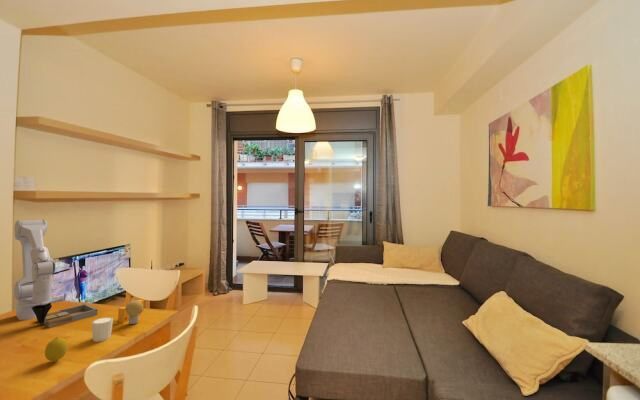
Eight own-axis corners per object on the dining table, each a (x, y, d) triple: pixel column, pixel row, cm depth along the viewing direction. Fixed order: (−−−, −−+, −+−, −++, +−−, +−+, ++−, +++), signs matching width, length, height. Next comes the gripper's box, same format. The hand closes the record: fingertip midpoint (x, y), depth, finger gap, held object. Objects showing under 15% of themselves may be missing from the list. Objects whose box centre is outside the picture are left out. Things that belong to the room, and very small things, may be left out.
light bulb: (143, 319, 130) (144, 297, 130) (139, 325, 124) (140, 302, 124) (127, 321, 128) (128, 298, 128) (122, 327, 122) (123, 303, 122)
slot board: (37, 322, 123) (37, 316, 123) (84, 310, 138) (84, 304, 138) (49, 330, 117) (49, 322, 117) (97, 316, 132) (97, 310, 132)
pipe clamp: (135, 312, 139) (136, 299, 139) (143, 313, 138) (144, 299, 138) (114, 322, 127) (115, 307, 127) (123, 323, 126) (123, 308, 126)
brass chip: (43, 322, 121) (43, 317, 122) (53, 320, 125) (54, 314, 125) (47, 325, 120) (47, 319, 120) (57, 322, 123) (58, 316, 123)
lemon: (53, 357, 98) (54, 333, 98) (71, 357, 98) (72, 333, 98) (39, 366, 92) (40, 341, 92) (57, 366, 93) (58, 341, 93)
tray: (59, 315, 129) (60, 310, 129) (84, 309, 138) (85, 304, 138) (71, 321, 124) (71, 315, 124) (97, 314, 132) (97, 309, 132)
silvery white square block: (55, 319, 125) (55, 314, 125) (65, 317, 128) (65, 311, 128) (59, 321, 123) (59, 316, 123) (69, 319, 126) (69, 313, 126)
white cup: (116, 336, 114) (117, 318, 114) (98, 343, 108) (99, 325, 108) (104, 332, 116) (105, 315, 116) (86, 340, 110) (87, 322, 110)
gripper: (21, 296, 111) (19, 331, 111) (68, 287, 124) (66, 319, 124) (15, 293, 115) (13, 327, 114) (61, 285, 127) (59, 315, 127)
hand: (40, 322), depth 119 cm, fingers closed
